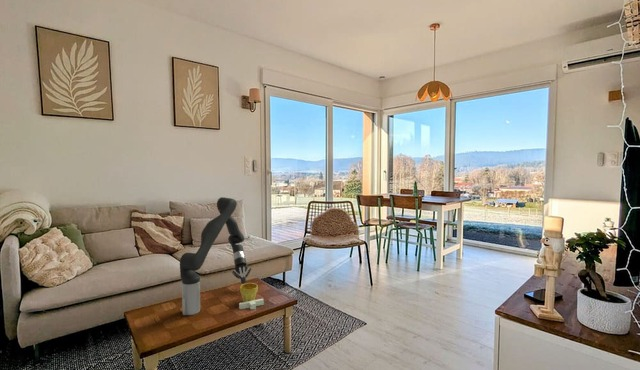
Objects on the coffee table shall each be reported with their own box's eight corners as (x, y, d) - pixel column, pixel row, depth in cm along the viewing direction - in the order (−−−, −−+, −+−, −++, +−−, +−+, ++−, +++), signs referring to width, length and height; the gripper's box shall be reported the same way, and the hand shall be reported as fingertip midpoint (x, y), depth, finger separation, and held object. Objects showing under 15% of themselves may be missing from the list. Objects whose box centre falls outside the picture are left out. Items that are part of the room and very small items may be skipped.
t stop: (241, 311, 174) (241, 306, 173) (239, 308, 178) (239, 302, 178) (265, 306, 180) (265, 301, 180) (262, 303, 184) (262, 298, 184)
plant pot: (255, 305, 181) (255, 289, 181) (237, 305, 181) (237, 289, 181) (259, 298, 191) (259, 282, 191) (242, 297, 192) (242, 282, 191)
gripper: (230, 258, 202) (234, 282, 192) (250, 255, 208) (255, 279, 198) (229, 263, 208) (232, 287, 197) (248, 261, 213) (253, 284, 203)
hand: (243, 283), depth 198 cm, fingers closed
